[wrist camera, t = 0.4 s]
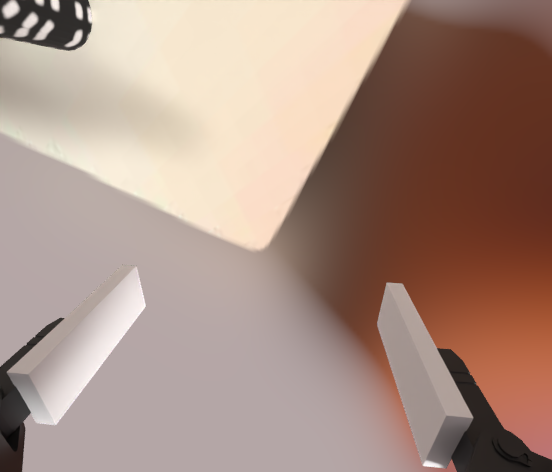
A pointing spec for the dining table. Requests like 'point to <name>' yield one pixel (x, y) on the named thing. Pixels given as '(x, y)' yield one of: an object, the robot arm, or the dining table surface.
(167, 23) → the dining table surface
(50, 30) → the white-spotted black cylinder
